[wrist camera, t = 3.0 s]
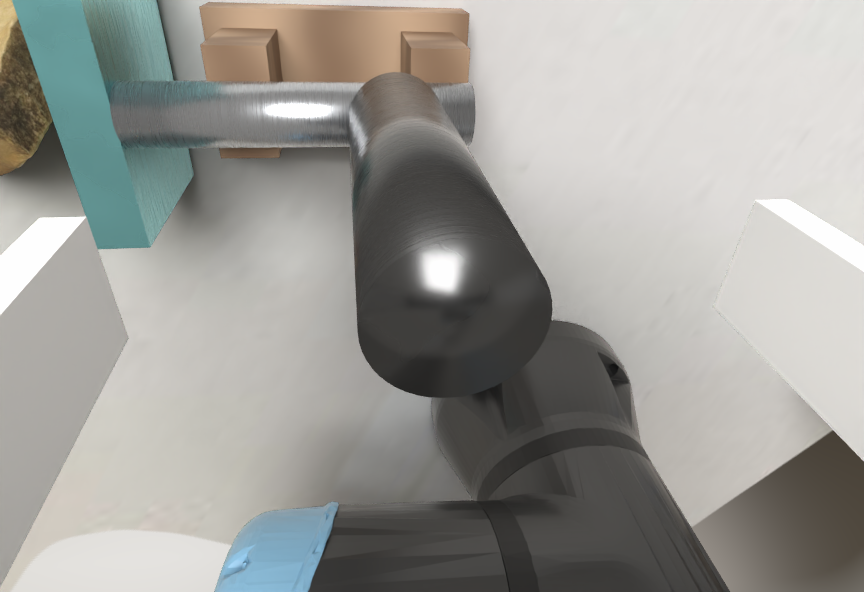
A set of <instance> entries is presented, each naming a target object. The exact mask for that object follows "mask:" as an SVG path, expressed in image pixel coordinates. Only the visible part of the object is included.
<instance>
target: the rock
mask: <svg viewBox="0 0 864 592" xmlns="http://www.w3.org/2000/svg"><path fill="white" fill-rule="evenodd" d="M52 122H53V119H52V116H51V113H50V110H49V107H48V104H47V101H46V98H45V96H44V93H43V90H42V87H41V84H40V81H39V78H38V75H37V72H36V69H35V66H34V64H33V61H32V58H31V55H30V52H29V49H28V46H27V43H26V40H25V37H24V34H23V32H22V29H21V26H20V23H19V20H18V17H17V14H16V11H15V8H14V5H13V2H12V0H0V176H2V175H3V174H6V173H9V172H11V171H13V170H14V169H16V168H20V167H21V166H22V165H23V164H24V163H25V162H26V161H27V159H29V158H31V157H32V156H33V154H34V153H35V152H36V151H37V149H38V147H39V145H40V143H41V141H42V139H43V137H44V135H45V133H46V132H47V131H48V129H49V127H50V124H51V123H52Z"/></svg>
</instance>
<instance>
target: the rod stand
mask: <svg viewBox="0 0 864 592" xmlns="http://www.w3.org/2000/svg"><path fill="white" fill-rule="evenodd" d="M199 8H200V14H201V20H202V25H203V31H204V36H205V42H203V43H202V44H201V45H200V46H201V51H202V57H203V62H204V68H205V73H206V79H207V81H270V82H368V81H369V80H370V79H372V78H374V77H376V76H378V75H381V74H384V73H389V72H403V73H408V74H411V75H414V76H416V77H418V78H420V79H421V80H423V81H424V82H425V83H468V74H469V60H470V48H468V47H467V41H468V26H469V13H467V12H466V11H464V10H463V9H452V8H413V7H374V6H335V5H296V4H257V3H218V2H208V3H206V4H204V5H202V6H200V7H199ZM219 150H220V156H221V158H279V157H280V154H281V150H282V147H272V148H219Z"/></svg>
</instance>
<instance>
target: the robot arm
mask: <svg viewBox="0 0 864 592" xmlns="http://www.w3.org/2000/svg"><path fill="white" fill-rule="evenodd" d="M713 308H714V309H715V310H716V311H717V312H718V313H719V314H720V315H721V316H722V317H723V318H724V319H725V320H726V321H727V322H728V323H729V324H730V325H731V326H732V327H733V328H734V329H735V330H736V331H737V332H738V333H739V334H740V335H741V336H742V337H743V338H744V339H745V340H746V341H747V342H748V344H749V345H750V346H751V347H752V348H753V349H754V350H755V351H756V352H757V353H758V354H759V355H760V356H761V357H762V358H763V359H764V360H765V361H766V362H767V363H768V364H769V365H770V366H771V367H772V368H773V369H774V370H775V371H776V372H777V373H778V374H779V375H780V376H781V377H782V378H783V379H784V380H785V381H786V382H787V383H788V384H789V385H790V386H791V387H792V388H793V389H794V390H795V392H796V393H797V394H798V395H799V396H800V397H801V398H802V399H803V400H804V401H805V402H806V403H807V404H808V405H809V406H810V407H811V408H812V409H813V410H814V411H815V412H816V413H817V414H818V415H819V416H820V417H821V418H822V419H823V420H824V421H825V422H826V423H827V424H828V425H829V426H830V427H831V428H832V429H833V430H834V431H835V432H836V433H837V434H838V435H839V436H840V437H841V438H842V439H843V440H844V441H845V443H847V445H848V446H849V447H850V448H851V449H852V450H853V451H854V452H855V453H856V454H857V455H858V456H859V457H860V458H861V459H862V460H863V461H864V245H862V244H860V243H859V242H857V241H855V240H854V239H852V238H851V237H849V236H847V235H846V234H844V233H842V232H841V231H839V230H837V229H836V228H834V227H833V226H831V225H829V224H828V223H826V222H824V221H823V220H821V219H819V218H818V217H816V216H814V215H813V214H811V213H810V212H808V211H806V210H805V209H803V208H801V207H800V206H798V205H796V204H795V203H793V202H791V201H790V200H788V199H783V200H755V202H754V205H753V207H752V210H751V212H750V215H749V217H748V220H747V222H746V225H745V227H744V230H743V232H742V235H741V237H740V240H739V242H738V245H737V247H736V250H735V253H734V255H733V258H732V260H731V263H730V265H729V268H728V270H727V273H726V275H725V278H724V280H723V283H722V285H721V288H720V290H719V293H718V295H717V298H716V300H715V303H714V305H713ZM127 340H128V335H127V332H126V330H125V327H124V324H123V321H122V318H121V315H120V312H119V309H118V307H117V304H116V301H115V298H114V295H113V292H112V289H111V286H110V284H109V281H108V278H107V275H106V272H105V269H104V266H103V263H102V261H101V258H100V255H99V252H98V249H97V246H96V243H95V240H94V238H93V235H92V232H91V229H90V226H89V223H88V220H87V217H56V218H39V219H38V220H37V221H36V222H35V223H34V224H33V225H32V226H31V227H30V228H29V229H28V230H27V231H26V232H24V233H23V234H22V235H21V236H20V237H19V238H18V239H17V240H16V241H15V242H14V243H13V244H12V245H11V246H10V247H9V248H8V249H7V250H6V251H5V252H4V253H3V254H2V255H1V256H0V587H1V585H2V583H3V581H4V579H5V577H6V576H7V574H8V572H9V570H10V568H11V566H12V564H13V562H14V560H15V558H16V556H17V554H18V552H19V550H20V548H21V546H22V544H23V542H24V541H25V539H26V537H27V535H28V533H29V531H30V529H31V527H32V525H33V523H34V521H35V519H36V517H37V515H38V513H39V511H40V509H41V508H42V506H43V504H44V502H45V500H46V498H47V496H48V494H49V492H50V490H51V488H52V486H53V484H54V482H55V480H56V478H57V476H58V474H59V473H60V471H61V469H62V467H63V465H64V463H65V461H66V459H67V457H68V455H69V453H70V451H71V449H72V447H73V445H74V443H75V441H76V439H77V438H78V436H79V434H80V432H81V430H82V428H83V426H84V424H85V422H86V420H87V418H88V416H89V414H90V412H91V410H92V408H93V406H94V404H95V403H96V401H97V399H98V397H99V395H100V393H101V391H102V389H103V387H104V385H105V383H106V381H107V379H108V377H109V375H110V373H111V371H112V369H113V368H114V366H115V364H116V362H117V360H118V358H119V356H120V354H121V352H122V350H123V348H124V346H125V344H126V342H127ZM431 409H432V418H433V424H434V429H435V434H436V439H437V442H438V444H439V447H440V449H441V451H442V453H443V455H444V456H445V458H446V459H447V461H448V462H449V464H450V465H451V467H452V468H453V470H454V471H455V473H456V474H457V476H458V477H459V479H460V480H461V482H462V483H463V485H464V486H465V488H466V490H467V491H468V493H469V494H470V496H471V497H472V499H473V500H474V501H445V502H414V503H384V504H354V505H339V503H337V502H330V503H327V504H326V505H325V506H321V507H308V508H296V509H284V510H274V511H269V512H265V513H262V514H260V515H258V516H256V517H255V518H253V519H252V520H251V521H250V522H248V523H247V524H246V525H245V526H244V527H243V528H242V530H241V531H240V532H239V533H238V535H237V537H236V538H235V540H234V542H233V544H232V546H231V548H230V550H229V552H228V554H227V557H226V560H225V562H224V565H223V567H222V570H221V573H220V576H219V579H218V582H217V585H216V588H215V591H214V592H730V591H729V589H728V587H727V586H726V584H725V582H724V581H723V579H722V578H721V576H720V574H719V573H718V571H717V569H716V568H715V566H714V564H713V563H712V561H711V560H710V558H709V556H708V554H707V553H706V551H705V550H704V548H703V546H702V545H701V543H700V541H699V540H698V538H697V537H696V535H695V533H694V532H693V530H692V528H691V526H690V525H689V523H688V522H687V520H686V518H685V517H684V515H683V513H682V512H681V510H680V508H679V507H678V505H677V503H676V502H675V500H674V499H673V497H672V495H671V494H670V492H669V490H668V489H667V487H666V485H665V484H664V482H663V480H662V479H661V477H660V475H659V474H658V472H657V471H656V469H655V467H654V466H653V464H652V462H651V461H650V459H649V457H648V456H647V454H646V452H645V450H644V449H643V447H642V445H641V441H640V436H639V430H638V424H637V418H636V412H635V407H634V401H633V395H632V389H631V384H630V380H629V378H628V375H627V372H626V370H625V368H624V366H623V365H622V363H621V362H620V360H619V359H618V357H617V356H616V354H615V353H614V351H613V349H612V348H611V347H610V345H609V344H608V343H607V342H606V341H605V340H604V339H603V338H602V337H600V336H599V335H598V334H596V333H595V332H593V331H591V330H589V329H587V328H585V327H582V326H579V325H576V324H573V323H568V322H562V321H551V323H550V326H549V330H548V333H547V335H546V337H545V340H544V342H543V343H542V345H541V347H540V348H539V350H538V351H537V353H536V354H535V355H534V356H533V358H532V359H531V360H530V361H529V362H528V363H527V364H526V365H525V366H524V367H523V368H522V369H521V370H519V371H518V372H517V373H516V374H514V375H513V376H511V377H510V378H508V379H507V380H505V381H504V382H502V383H500V384H498V385H496V386H494V387H492V388H489V389H487V390H484V391H481V392H478V393H475V394H471V395H466V396H460V397H452V398H435V397H433V398H432V406H431Z"/></svg>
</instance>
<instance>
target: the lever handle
mask: <svg viewBox="0 0 864 592" xmlns="http://www.w3.org/2000/svg"><path fill="white" fill-rule="evenodd" d="M12 2H13V5H14V8H15V11H16V14H17V17H18V20H19V23H20V26H21V29H22V32H23V34H24V37H25V40H26V43H27V46H28V49H29V52H30V55H31V58H32V61H33V64H34V66H35V69H36V72H37V75H38V78H39V81H40V84H41V87H42V90H43V93H44V96H45V98H46V101H47V104H48V107H49V110H50V113H51V116H52V119H53V122H54V125H55V128H56V130H57V133H58V136H59V139H60V142H61V145H62V148H63V151H64V154H65V157H66V160H67V162H68V165H69V168H70V171H71V174H72V177H73V180H74V183H75V186H76V189H77V192H78V194H79V197H80V200H81V203H82V206H83V209H84V212H85V215H86V217H87V220H88V223H89V226H90V229H91V232H92V235H93V238H94V240H95V243H96V246H97V249H117V248H148V247H151V245H152V244H153V242H154V240H155V239H156V237H157V235H158V234H159V232H160V230H161V229H162V227H163V225H164V224H165V222H166V220H167V219H168V217H169V215H170V214H171V212H172V210H173V209H174V207H175V205H176V204H177V202H178V201H179V199H180V197H181V196H182V194H183V192H184V191H185V189H186V187H187V186H188V184H189V182H190V181H191V179H192V177H193V176H194V173H193V169H192V164H191V159H190V155H189V150H188V148H272V147H350V168H351V191H352V213H353V236H354V259H355V281H356V304H357V326H358V337H359V343H360V346H361V349H362V352H363V354H364V356H365V358H366V360H367V362H368V363H369V365H370V366H371V367H372V369H373V370H374V371H375V372H376V373H377V374H378V375H379V376H380V377H382V378H383V379H384V380H385V381H387V382H388V383H390V384H391V385H393V386H395V387H397V388H399V389H401V390H404V391H406V392H409V393H412V394H416V395H420V396H425V397H435V398H452V397H460V396H466V395H471V394H475V393H478V392H481V391H484V390H487V389H489V388H492V387H494V386H496V385H498V384H500V383H502V382H504V381H505V380H507V379H508V378H510V377H511V376H513V375H514V374H516V373H517V372H518V371H519V370H521V369H522V368H523V367H524V366H525V365H526V364H527V363H528V362H529V361H530V360H531V359H532V358H533V356H534V355H535V354H536V353H537V351H538V350H539V348H540V347H541V345H542V343H543V342H544V340H545V337H546V335H547V333H548V330H549V326H550V323H551V317H552V299H551V294H550V290H549V287H548V284H547V282H546V280H545V278H544V276H543V275H542V273H541V271H540V270H539V268H538V266H537V264H536V263H535V261H534V259H533V258H532V256H531V254H530V253H529V251H528V249H527V248H526V246H525V244H524V243H523V241H522V239H521V237H520V236H519V234H518V232H517V231H516V229H515V227H514V226H513V224H512V222H511V221H510V219H509V217H508V215H507V214H506V212H505V210H504V209H503V207H502V205H501V204H500V202H499V200H498V199H497V197H496V195H495V194H494V192H493V190H492V188H491V187H490V185H489V183H488V182H487V180H486V178H485V177H484V175H483V173H482V172H481V170H480V168H479V166H478V165H477V163H476V161H475V160H474V158H473V156H472V155H471V153H470V151H469V150H468V148H467V146H469V145H470V144H471V141H472V138H473V133H474V125H475V98H474V91H473V87H472V85H471V83H425V82H424V81H423V80H421V79H420V78H418V77H416V76H414V75H411V74H408V73H403V72H389V73H384V74H381V75H378V76H376V77H374V78H372V79H370V80H369V81H368V82H270V81H174V80H173V75H172V71H171V66H170V61H169V57H168V52H167V47H166V43H165V38H164V33H163V29H162V24H161V19H160V15H159V10H158V5H157V1H156V0H12Z"/></svg>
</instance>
